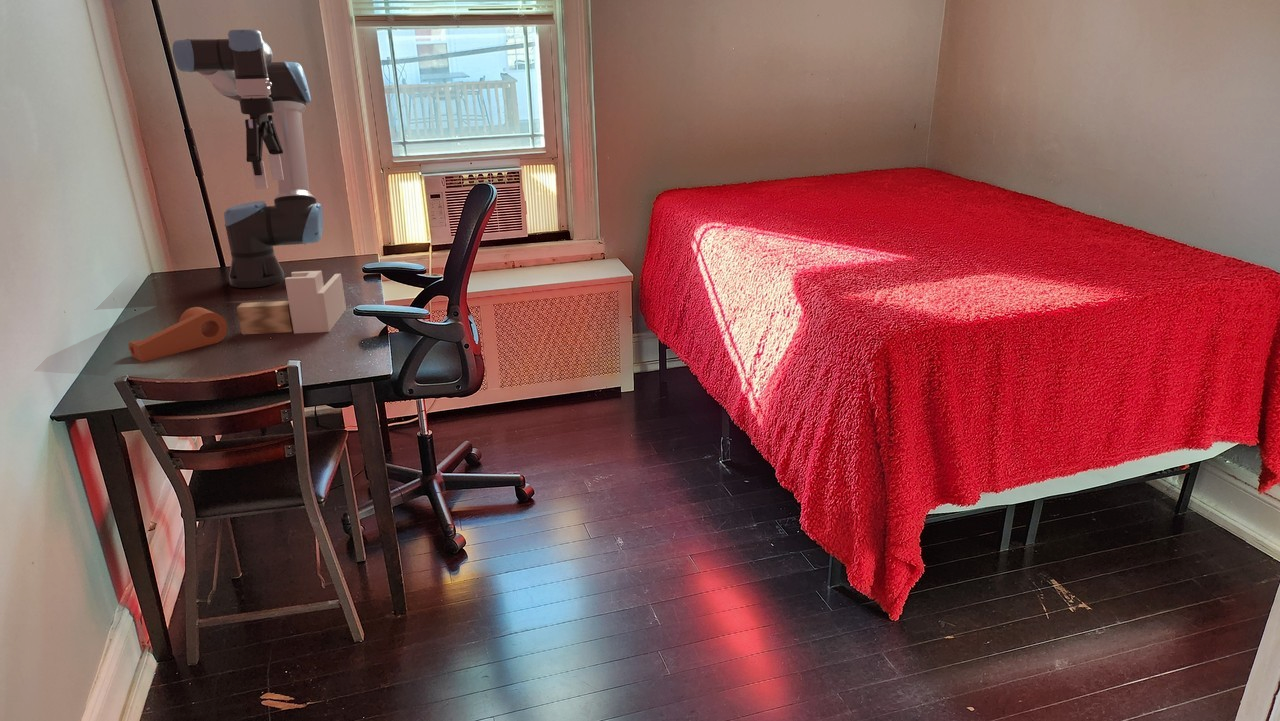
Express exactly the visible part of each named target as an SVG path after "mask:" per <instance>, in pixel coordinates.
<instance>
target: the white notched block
mask: <svg viewBox="0 0 1280 721" xmlns="http://www.w3.org/2000/svg"><path fill="white" fill-rule="evenodd" d="M290 273H291V274H290V275H291V276H288V277H285V279H284V282H285V287H286V292H287V293H286V294H287V301H289V306H290V312H291V318H292V324H293V330H294V331H293V334H294V335H295V334H309V333H310V334H313V333H330V332H331V330H332V329H333V328H334V326H336V324H337V322H338V321H339V320H340V319H341V317H342V316H343V315H344V313H345V312H346V311H347V305H346V298H345V292H344V285H343V284H344V283H343V278H342V273H334V275H332V277H331V278H330V279H329V280H328V281H327V282H326V283H325V284H324V277H323V271H322V270H307V271H306V270H303V271H292V272H290ZM345 310H346V311H345ZM344 311H345V312H344ZM342 314H343V315H342Z"/></svg>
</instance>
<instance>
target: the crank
mask: <svg viewBox="0 0 1280 721" xmlns="http://www.w3.org/2000/svg"><path fill="white" fill-rule="evenodd" d="M227 324H228V323H227V321H226V319H225V318H224V317H223V315H221V314H219V313H216V312H213V311H212V310H210V309H207V308H204V307H201V306H193V307H189V308H188V309H186V310H184V312H183V313H182V314H181V315H180V317H179V320H178V322H177V323H175V324H173V325H170V326H169V327H166V328H164V329H163V330H161V331H158V332H157V333H154V334H152V335H150V336H148V337H146V338H144V339H142V340H140V339H137V340H134V341H130V342H129V343H128V350H129V351H130V355H131V357H132V358H134V359H136V360H138V361H140V362H141V363H144V362H147V361H152V360H155V359H158V358H159V359H160V358H163V357H168V356H171V355H175V354H178V353H182V352H186V351H189V350H190V351H191V350H194V349H197V348H202V347H206V346H210V345H213V344H214V345H215V344H217V343H221V341H222V340H224V338H225V337H226V335H227V332H228V325H227Z"/></svg>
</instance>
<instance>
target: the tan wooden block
mask: <svg viewBox="0 0 1280 721" xmlns="http://www.w3.org/2000/svg"><path fill="white" fill-rule="evenodd" d="M236 312H237V315H238V322H239V326H240V331H241V334H242V335H258V334H262V335H263V334H280V333H281V334H282V333H293V332H294V330H293V324H292V318H291V312H290V306H289V301H288V300H278V301H257V302H255V301H254V302H253V301H251V302H242V303H240V304H238V306H237V307H236Z"/></svg>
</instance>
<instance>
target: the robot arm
mask: <svg viewBox="0 0 1280 721" xmlns="http://www.w3.org/2000/svg"><path fill="white" fill-rule="evenodd" d="M227 37H228V38H217V39H216V38H215V39H214V38H212V39H211V38H209V39H208V38H207V39H206V38H204V39H203V38H202V39H200V38H199V39H198V38H193V39H192V38H190V39H189V38H186V39H176V40H174V41H173V43H172V46H171V47H172V48H171V49H172V56H173V60H174V63H175V66H176V68H177V69H178V70H179V71H180V72H187V73H193V72H197V73H199V75H201V76H203V77H204V78H205V79H207V80H208V81H209V82H211V85H212V86H213V87H214V90H216V91H217V92H218V93H220V94H221V95H222V96H224V97H226V98H228V99H231V100H234V101H238V102H239V106H240V111H241V113H242V114H243V115H249V119H248V118H247V119H245V120H244V124H245V130H246V131H245V135H246V136H245V137H246V138H245V141H246V146H245V147H246V162H247V163H250V164H251V168H252V170H251V171H252V175H253V181H254V186H255V190H258V189H269V185H268V180H267V179H268V178H267V174H266V169H265V162H264V161H263V149H264V148H263V146H264V145H265V147H266V148H267V151H268V152H269V154H267V158H268V162H269V167H270V169H269V170H270V172H271V173H270V174H271V180H272V181H277V185H278V186H277V187H278V194H276V196H275V197H274V199H273V201H274V202H273V203H274V205H269V206H268V205H267V203H266V201H264V200H257V201H250V202H246V203H245V202H244V203H240V204H237V205H233V206H230V207H228V208H227V209H225V211H224V213H223V217H224V227H225V230H226V235H227V240H228V246H229V251H230V256H231V263H230V269H229V275H228V280H229V285H230V286H231V287H233V288H238V289H239V288H240V289H247V288H249V289H250V288H261V287H268V286H272V285H277V284H278V283H279V284H280V283H281V282H283V281H285V278H286V277H285V272H284V270H283V268H282V265H281V264H280V263H279V260H278V259H277V257H276V255H275V251H274V247H276V246H279V247H281V246H291V245H292V246H293V245H295V246H296V245H309V244H314V243H315V244H317V243H318V242H320V241H321V239H322V236H323V233H324V232H323V231H324V213H323V212H324V211H323V205H322V204H321V203H319V202H317V198H316V197H315V196H314V195H313V194H312V193H311V192H310V183H309V182H310V180H309V173H308V172H309V171H308V162H307V161H308V160H307V153H306V152H307V151H306V145H305V144H306V143H305V135H304V126H303V117H302V116H303V113H305V111H306V110H307V104H309V103H311V101H312V98H311V92H310V88H309V84H308V82H307V77H306V74H305V71H304V69H303V67H302V65H301V63H299V62H297V61H295V62H293V61H285V60H284V61H273V58H274V57H273V55H274V54H273V51H272V49H271V47H270V46H269V44H268V43H267V42H266V41H264V40H263V36H262V32H261V31H260V30H258V29H231V30H229V31H228V32H227Z"/></svg>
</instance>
